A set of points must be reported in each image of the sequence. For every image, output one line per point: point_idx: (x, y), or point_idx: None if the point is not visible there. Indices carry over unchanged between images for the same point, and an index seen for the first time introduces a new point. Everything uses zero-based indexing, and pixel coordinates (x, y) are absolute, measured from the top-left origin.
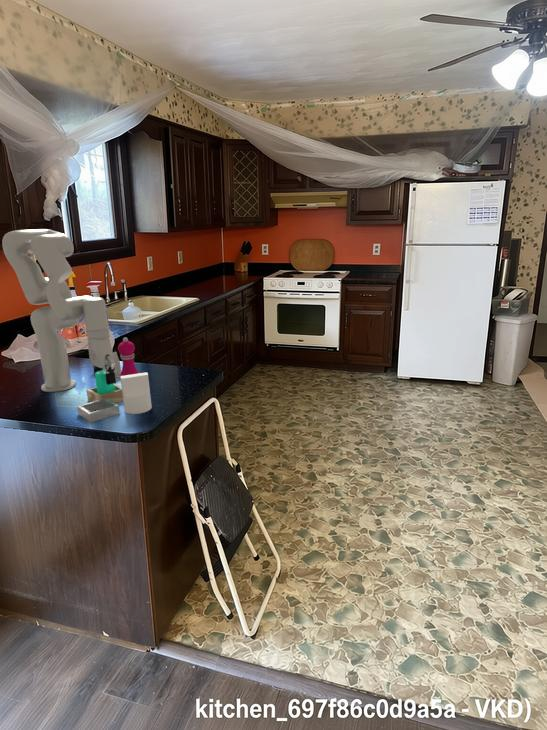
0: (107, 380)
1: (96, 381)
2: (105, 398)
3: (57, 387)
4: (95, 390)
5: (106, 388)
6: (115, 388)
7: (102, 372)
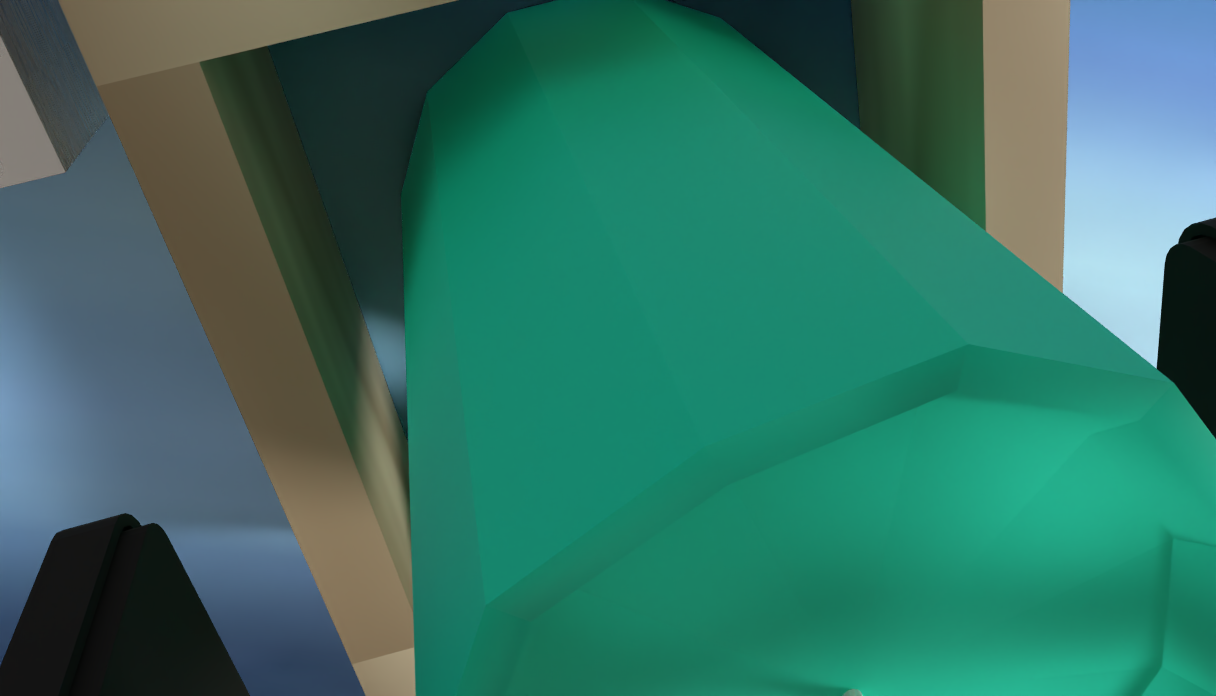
0: (29, 671)
1: (722, 195)
2: (26, 166)
3: None
4: (947, 30)
5: (408, 361)
6: None
7: (1035, 662)
